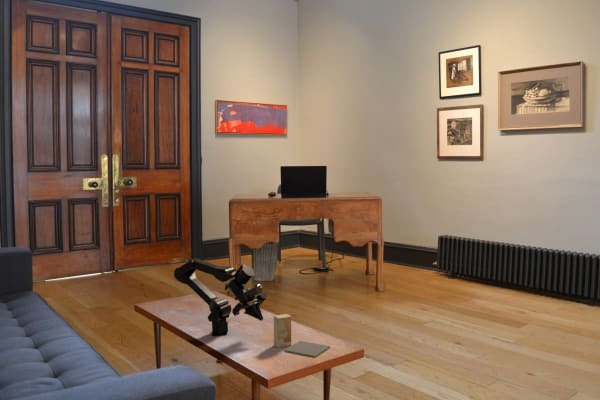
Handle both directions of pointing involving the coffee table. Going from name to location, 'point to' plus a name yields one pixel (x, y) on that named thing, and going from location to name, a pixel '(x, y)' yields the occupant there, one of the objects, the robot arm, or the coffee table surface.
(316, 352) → the mat
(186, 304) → the coffee table surface
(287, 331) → the skincare box
